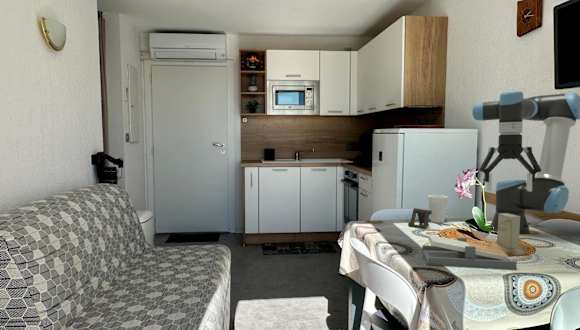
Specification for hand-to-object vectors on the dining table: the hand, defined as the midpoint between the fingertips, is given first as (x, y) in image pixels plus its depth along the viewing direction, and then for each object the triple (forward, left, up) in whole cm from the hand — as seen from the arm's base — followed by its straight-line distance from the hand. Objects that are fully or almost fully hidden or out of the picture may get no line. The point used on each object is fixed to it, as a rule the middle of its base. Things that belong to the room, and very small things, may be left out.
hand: (508, 190), depth 138 cm
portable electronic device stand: (+27, -35, -23) cm, 50 cm away
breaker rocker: (+18, +14, -18) cm, 29 cm away
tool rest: (0, 0, -23) cm, 23 cm away
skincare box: (0, 0, -21) cm, 21 cm away
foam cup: (+17, -48, -23) cm, 56 cm away
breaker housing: (+18, +14, -23) cm, 32 cm away
